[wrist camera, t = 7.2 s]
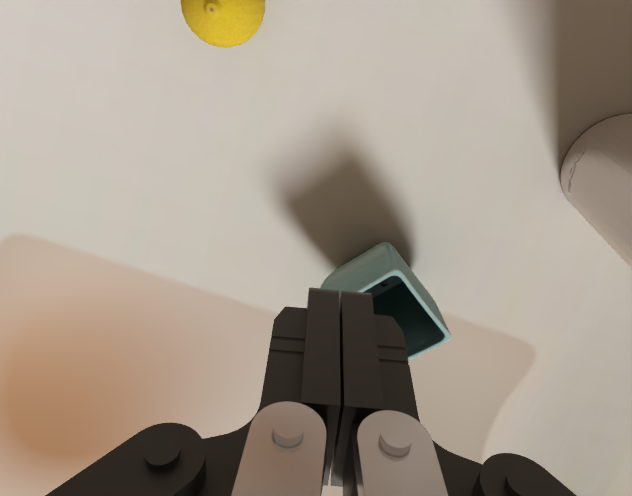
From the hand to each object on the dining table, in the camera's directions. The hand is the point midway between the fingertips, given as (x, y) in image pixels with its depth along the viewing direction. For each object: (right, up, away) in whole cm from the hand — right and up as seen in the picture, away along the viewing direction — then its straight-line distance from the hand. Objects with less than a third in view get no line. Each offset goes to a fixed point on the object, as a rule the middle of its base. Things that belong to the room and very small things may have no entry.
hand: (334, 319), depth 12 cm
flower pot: (+5, 0, +38) cm, 38 cm away
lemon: (-7, +21, +26) cm, 33 cm away
